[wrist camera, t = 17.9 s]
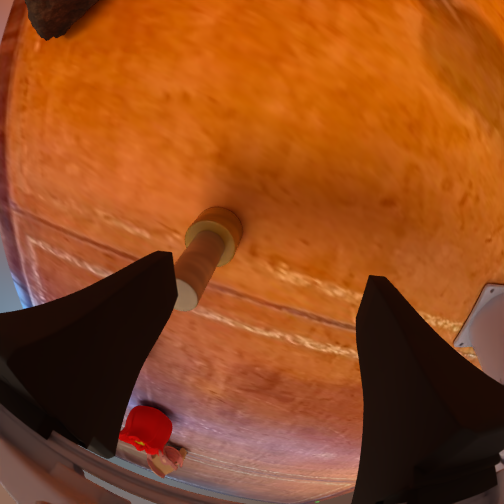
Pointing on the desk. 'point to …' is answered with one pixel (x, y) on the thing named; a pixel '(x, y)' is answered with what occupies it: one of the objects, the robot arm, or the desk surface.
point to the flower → (147, 429)
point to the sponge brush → (205, 253)
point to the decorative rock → (55, 15)
